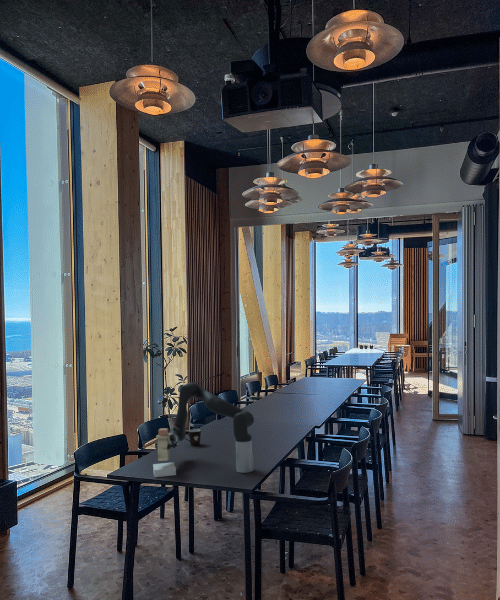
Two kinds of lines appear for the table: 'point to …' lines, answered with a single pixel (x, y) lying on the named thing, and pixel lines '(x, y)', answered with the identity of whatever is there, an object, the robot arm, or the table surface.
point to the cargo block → (163, 431)
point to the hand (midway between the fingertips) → (162, 447)
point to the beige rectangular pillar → (163, 447)
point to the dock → (164, 469)
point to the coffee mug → (194, 437)
